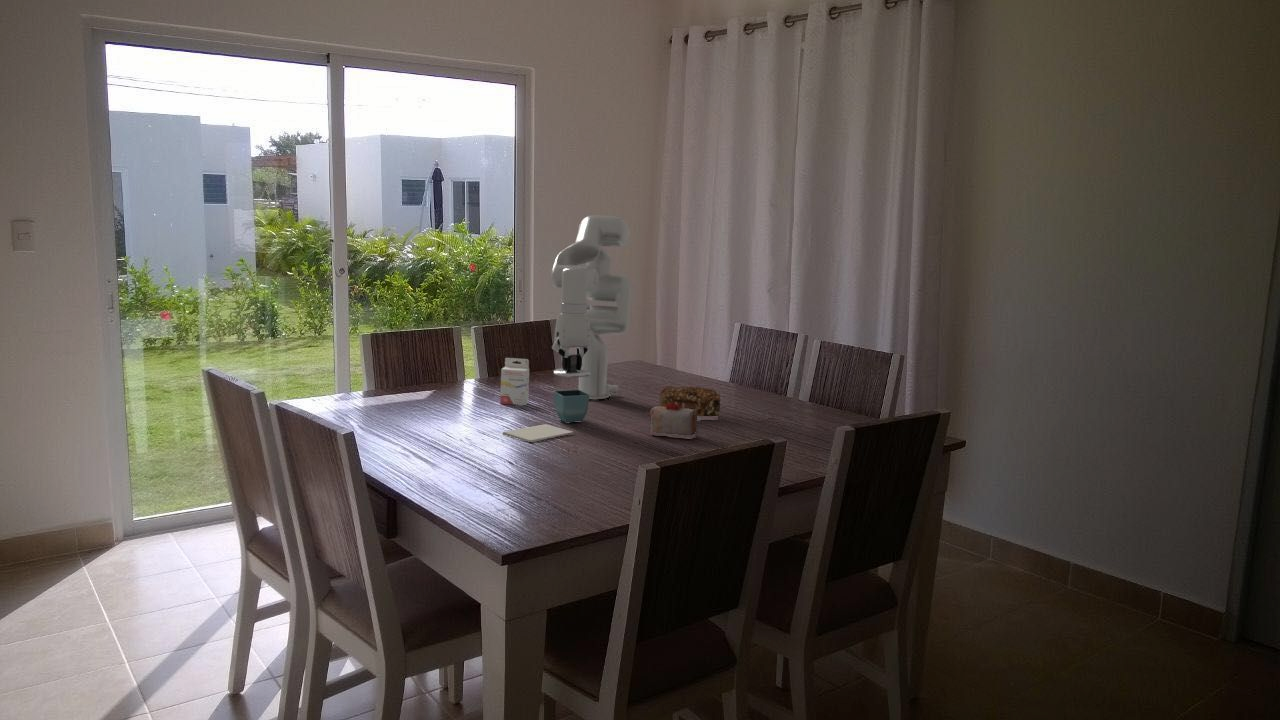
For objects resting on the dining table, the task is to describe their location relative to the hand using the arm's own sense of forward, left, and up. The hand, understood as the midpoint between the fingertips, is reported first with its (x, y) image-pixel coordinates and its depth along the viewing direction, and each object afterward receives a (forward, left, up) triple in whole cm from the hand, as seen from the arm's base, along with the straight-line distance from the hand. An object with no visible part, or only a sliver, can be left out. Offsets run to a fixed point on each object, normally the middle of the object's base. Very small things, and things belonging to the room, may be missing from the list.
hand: (571, 369), depth 279 cm
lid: (0, 0, -1) cm, 1 cm away
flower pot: (0, 0, -16) cm, 16 cm away
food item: (-19, +27, -16) cm, 37 cm away
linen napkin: (+16, +11, -16) cm, 25 cm away
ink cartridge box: (+5, -30, -16) cm, 35 cm away
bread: (-38, +9, -17) cm, 42 cm away
